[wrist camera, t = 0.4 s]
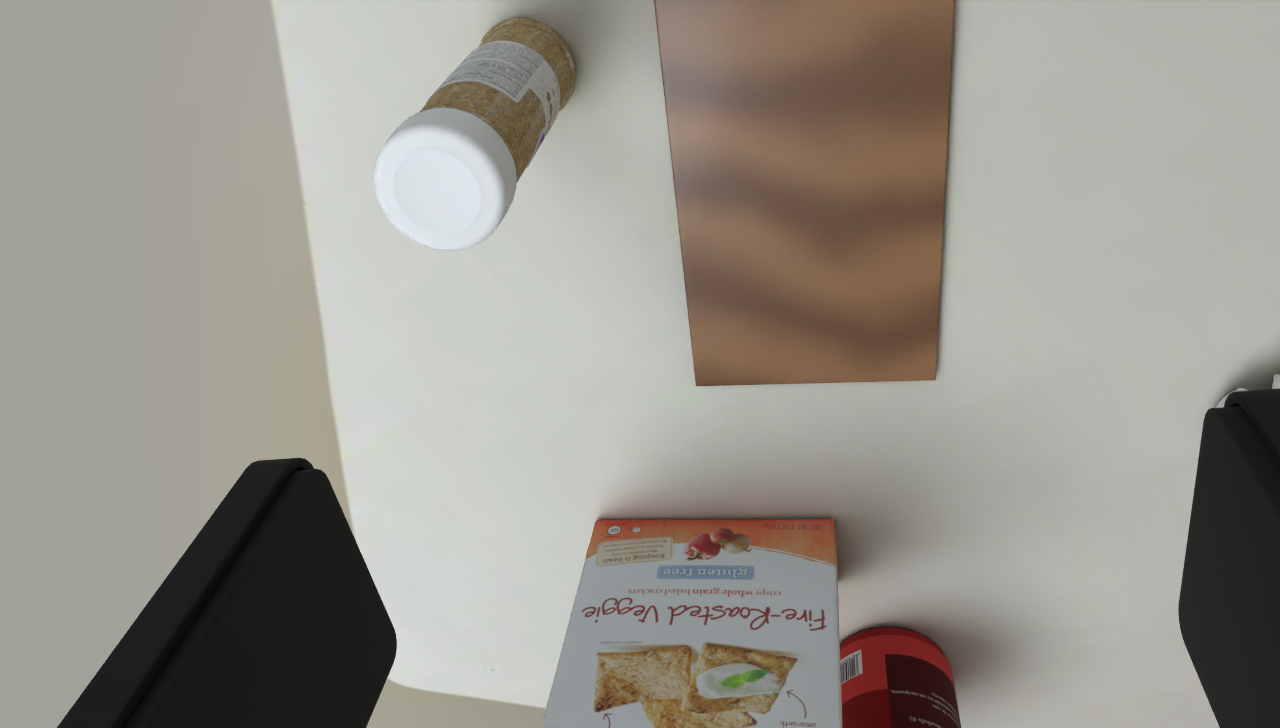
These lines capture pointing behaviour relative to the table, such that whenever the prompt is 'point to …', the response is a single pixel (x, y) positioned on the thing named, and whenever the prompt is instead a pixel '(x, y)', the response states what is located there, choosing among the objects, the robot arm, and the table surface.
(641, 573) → the cracker box
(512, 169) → the spice jar
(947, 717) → the canned food
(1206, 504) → the robot arm
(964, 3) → the table surface
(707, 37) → the wooden board
